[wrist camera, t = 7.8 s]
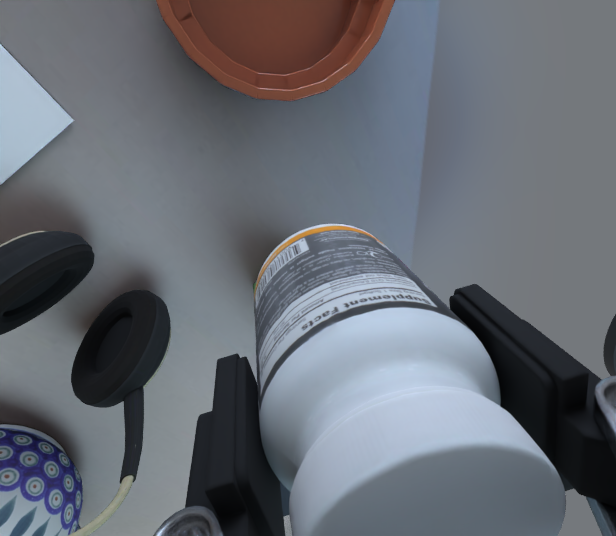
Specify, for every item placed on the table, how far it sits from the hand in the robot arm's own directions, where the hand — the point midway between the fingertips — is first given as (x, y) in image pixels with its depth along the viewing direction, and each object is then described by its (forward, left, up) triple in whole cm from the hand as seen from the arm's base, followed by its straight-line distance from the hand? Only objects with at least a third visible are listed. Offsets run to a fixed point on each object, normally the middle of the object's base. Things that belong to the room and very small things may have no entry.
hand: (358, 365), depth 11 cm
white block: (+17, -11, -21) cm, 29 cm away
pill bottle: (0, 0, -5) cm, 5 cm away
